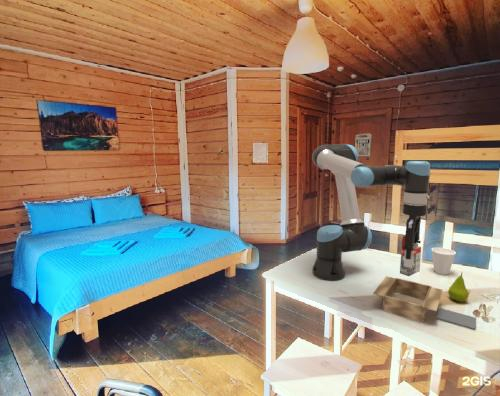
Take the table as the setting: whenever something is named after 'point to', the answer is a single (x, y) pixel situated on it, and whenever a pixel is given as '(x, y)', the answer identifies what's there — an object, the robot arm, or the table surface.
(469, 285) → the table surface
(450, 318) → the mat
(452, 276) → the table surface
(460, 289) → the fruit
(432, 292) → the carton
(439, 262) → the cup
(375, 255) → the table surface
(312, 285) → the table surface
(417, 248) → the ink box
